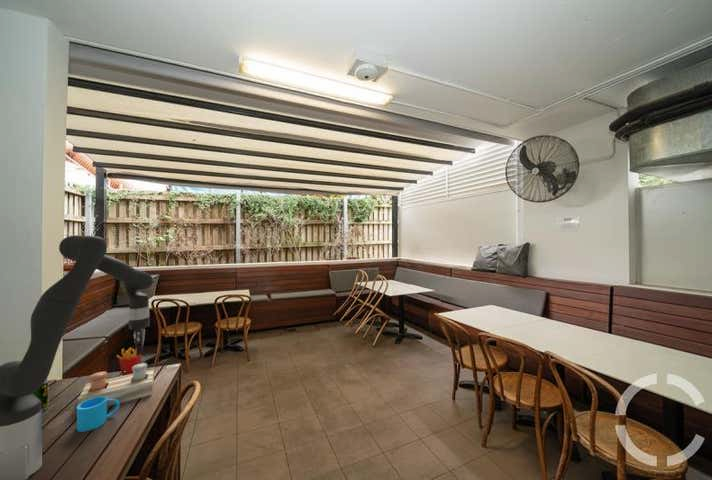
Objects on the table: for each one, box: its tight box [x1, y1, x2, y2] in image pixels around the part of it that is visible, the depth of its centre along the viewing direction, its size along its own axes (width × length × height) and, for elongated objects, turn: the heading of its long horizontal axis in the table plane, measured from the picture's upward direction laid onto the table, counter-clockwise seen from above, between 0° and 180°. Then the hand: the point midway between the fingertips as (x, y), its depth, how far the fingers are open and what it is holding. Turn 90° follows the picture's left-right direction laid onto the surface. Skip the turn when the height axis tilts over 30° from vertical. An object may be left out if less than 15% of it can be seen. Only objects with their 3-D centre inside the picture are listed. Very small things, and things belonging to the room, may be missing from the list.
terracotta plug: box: [89, 370, 108, 392], centre depth 118 cm, size 5×5×7 cm
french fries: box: [116, 347, 143, 376], centre depth 138 cm, size 9×8×15 cm
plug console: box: [77, 368, 155, 407], centre depth 122 cm, size 14×24×6 cm, turn 125°
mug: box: [76, 397, 121, 433], centre depth 105 cm, size 12×8×8 cm
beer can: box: [33, 377, 50, 412], centre depth 112 cm, size 5×5×12 cm
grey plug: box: [132, 362, 148, 382], centre depth 126 cm, size 5×5×7 cm
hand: (139, 354), depth 126 cm, fingers closed
